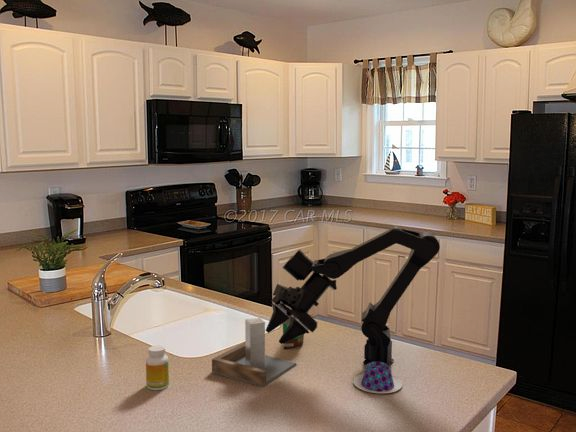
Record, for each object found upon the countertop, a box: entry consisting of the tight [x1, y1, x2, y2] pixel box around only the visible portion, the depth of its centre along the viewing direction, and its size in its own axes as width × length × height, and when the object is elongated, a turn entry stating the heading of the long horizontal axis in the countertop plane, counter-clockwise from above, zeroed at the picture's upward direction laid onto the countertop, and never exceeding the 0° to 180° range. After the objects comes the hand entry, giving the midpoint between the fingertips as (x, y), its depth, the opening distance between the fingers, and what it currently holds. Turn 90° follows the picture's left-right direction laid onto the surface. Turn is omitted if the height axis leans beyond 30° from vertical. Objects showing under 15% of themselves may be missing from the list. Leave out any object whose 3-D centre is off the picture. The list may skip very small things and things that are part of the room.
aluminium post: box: [244, 317, 266, 369], centre depth 149 cm, size 4×4×12 cm
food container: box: [281, 314, 305, 350], centre depth 167 cm, size 12×6×10 cm, turn 168°
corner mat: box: [211, 354, 297, 388], centre depth 150 cm, size 16×16×1 cm
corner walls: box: [211, 342, 266, 384], centre depth 150 cm, size 16×16×3 cm
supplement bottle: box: [145, 345, 170, 391], centre depth 139 cm, size 5×5×10 cm
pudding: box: [353, 361, 403, 394], centre depth 141 cm, size 12×12×5 cm
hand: (273, 337), depth 151 cm, fingers open, 9 cm apart
